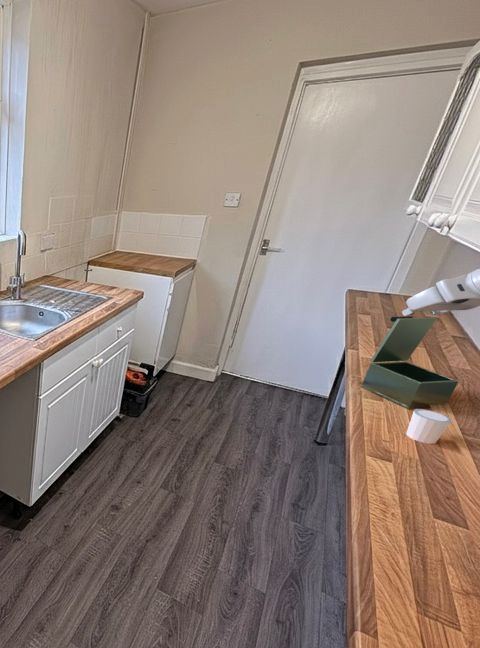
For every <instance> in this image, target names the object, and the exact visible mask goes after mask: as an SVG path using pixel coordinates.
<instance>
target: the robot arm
mask: <svg viewBox="0 0 480 648" xmlns="http://www.w3.org/2000/svg"><path fill="white" fill-rule="evenodd" d="M405 304H406V306H407V308H406V309H403V310H402V311H401V313H402V316H413V315H415V313H417V312H429V313H430V315H431V316H438V315H442V314H444V313H449V312H453V311H468V310H469V311H470V310H473V309H475V308H478V307H480V268H478V269H474V270H473V271H471V272H469V273H464V274H463V275H460V276H455V277H451V278H445V279H441V280H439V281H438V282H436V283H435V285H434V286H431V287H429V288H426V289H424V290H422V291H420V292H418V293H416V294H414V295H413V296H411V297H409V298H408V299H407V300H406V301H405Z"/></svg>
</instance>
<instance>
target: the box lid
mask: <svg viewBox="0 0 480 648" xmlns="http://www.w3.org/2000/svg"><path fill="white" fill-rule="evenodd" d="M389 320H390V322H392V323H393V325H392V327H391V328H390V329H389V331H388V333H387V334H386V336H385V337H384V339H383V340H382V342H381V344H380V345H379V346H378V348H377V350H376V351H375V353H374V354H373V356H372V358H371V359H370V363H383V362H404V361H406V362H409V360H410V358H411V357H412V355H413V353H414V352H415V350H416V349H417V348H418V347H419V345H420V343H421V342H422V341H423V339H424V338H425V336H426V335H427V334H428V332H429V331H430V329H431V327H432V326H433V325H434V323H435V322H436V320H437V317H435V316H431V317H430V316H429V317H414V316H413V315H410V316H404V315H402V316H391V317H390V319H389Z"/></svg>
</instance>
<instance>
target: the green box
mask: <svg viewBox="0 0 480 648" xmlns="http://www.w3.org/2000/svg"><path fill="white" fill-rule="evenodd" d="M459 382H460V381H459V380H456V379H454V378H451V377H449V376H446V375H443V374H440V373H438V372H435V371H433V370H429V369H427V368H425V367H422V366H420V365H416V364H414V363H411V362H409V361H390V362H370V364H369V366H368V368H367V371H366V374H365V375H364V378H363V380H362V383H361V385H360V388H361V389H364V390H366V391H368V392H370V393H372V394H375V395H377V396H379V397H381V398H383V399H385V400H386V401H390V402H392V403H393V404H396V405H398V406H400V407H401V408H404V409H406V410H415V409H432V407H431V405H441V404H448V403H449V402H450V399H451V397H452V396H453V394H454V392H455V389H456V388H457V385H458V384H459Z"/></svg>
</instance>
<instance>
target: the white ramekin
mask: <svg viewBox="0 0 480 648" xmlns="http://www.w3.org/2000/svg"><path fill="white" fill-rule="evenodd" d="M451 423H452V419H451V418H450V417H449V416H447V415H445V414H443V413H440V412H438V411H434V410H430V409H426V408H422V409H413V412H412V415H411V417H410V421H409V424H408V427H407V430H406V432H405V435H406V436H407V437H408V438H409V439H411V440H414V441H416V442H419V443H423V444H427V445H434V444H437V442H438V440H439V439H440V437H441V436H442V435H443V434H444V432H445V431H446V429H447V428H448V427H449V425H450V424H451Z"/></svg>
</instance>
